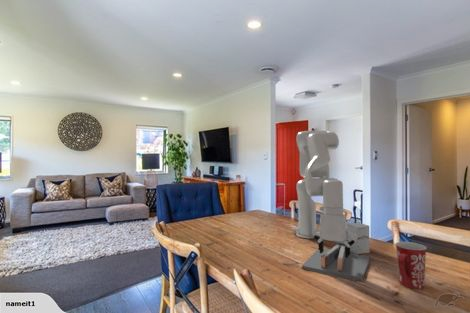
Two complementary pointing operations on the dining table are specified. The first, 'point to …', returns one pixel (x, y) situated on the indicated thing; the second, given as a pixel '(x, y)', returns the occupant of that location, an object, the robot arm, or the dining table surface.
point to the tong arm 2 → (341, 258)
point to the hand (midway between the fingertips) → (334, 254)
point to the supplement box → (359, 238)
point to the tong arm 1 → (330, 256)
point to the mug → (411, 264)
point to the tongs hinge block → (340, 244)
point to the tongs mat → (351, 268)
